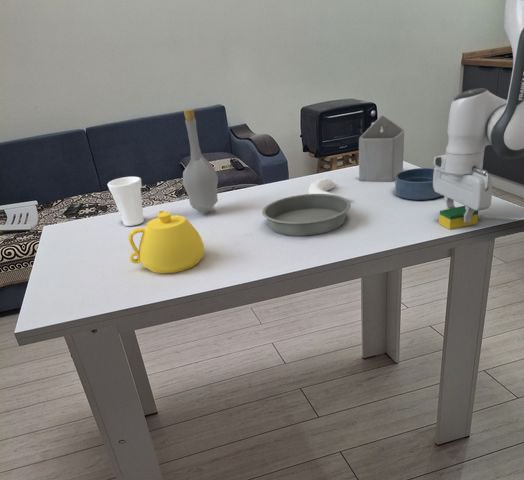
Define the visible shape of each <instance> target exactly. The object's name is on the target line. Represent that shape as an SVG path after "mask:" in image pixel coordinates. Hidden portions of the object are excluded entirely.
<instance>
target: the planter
mask: <svg viewBox="0 0 524 480" xmlns="http://www.w3.org/2000/svg"><path fill="white" fill-rule="evenodd" d="M381 130H382V131H381ZM404 148H405V130H404V129H403V128H402V127H401V126H399V125H398V124H396V122H393V121H392V120H390V119H389V118H388V117H386V116H385V115H380V116H378V118H377V119H376V120H375V121H374V122H373V123H372V124H371V125H370V126H369V127H368V128H367V129H366V130H365V131H364V132H363V133H362V135H360V136H359V138H358V181H359V182H375V183H377V182H379V183H393V182H395V176H396V175H397V174H398V173H400V172H402V171H404V153H405V150H404Z"/></svg>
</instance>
